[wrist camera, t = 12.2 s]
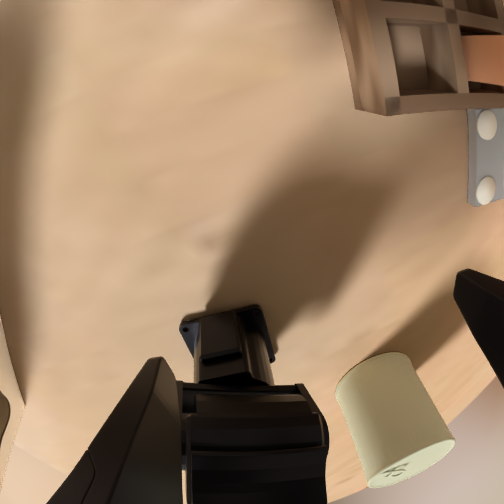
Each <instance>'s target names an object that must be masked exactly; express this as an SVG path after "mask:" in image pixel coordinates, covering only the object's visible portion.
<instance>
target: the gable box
mask: <svg viewBox="0 0 504 504" xmlns="http://www.w3.org/2000/svg"><path fill="white" fill-rule="evenodd" d="M24 409H25V405H24V402H23V399H22V396H21V393H20V390H19V387H18V384H17V380H16V377H15V374H14V370H13V367H12V363H11V359H10V355H9V352H8V347H7V343H6V339H5V335H4V330H3V325H2V320H1V315H0V492H1V487H2V483H3V479H4V475H5V471H6V467H7V463H8V459H9V456H10V453H11V449H12V446H13V443H14V439H15V436H16V433H17V430H18V427H19V424H20V421H21V418H22V415H23V412H24Z"/></svg>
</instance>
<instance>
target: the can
mask: <svg viewBox="0 0 504 504" xmlns="http://www.w3.org/2000/svg"><path fill="white" fill-rule="evenodd" d="M335 397H336V400H337V401H338V403H339V404H340V407H341V409H342V412H343V414H344V417H345V420H346V422H347V425H348V428H349V430H350V433H351V436H352V439H353V441H354V444H355V447H356V450H357V452H358V455H359V458H360V461H361V464H362V467H363V470H364V473H365V477H366V480H367V485H368V486H369V487H370V488H381V487H385V486H389V485H393V484H396V483H398V482H401V481H403V480H406V479H408V478H410V477H412V476H414V475H416V474H418V473H420V472H422V471H424V470H425V469H427V468H429V467H430V466H432V465H433V464H435V463H436V462H438V460H440V459H441V458H443V457H444V456H445V455H446V454H447V453H448V452H449V451H450V450H451V449H452V448H453V446H454V445H455V438H454V437H453V436H452V435H451V433H450V431H449V429H448V427H447V426H446V424H445V422H444V420H443V419H442V417H441V415H440V413H439V412H438V410H437V408H436V406H435V405H434V403H433V401H432V399H431V398H430V396H429V394H428V392H427V391H426V389H425V387H424V385H423V384H422V382H421V380H420V378H419V377H418V375H417V373H416V371H415V370H414V368H413V366H412V364H411V360H410V359H409V357H408V356H407V355H405V354H403V353H399V352H388V353H383V354H380V355H376V356H374V357H371V358H369V359H367V360H365V361H363V362H362V363H360V364H358V365H357V366H355V367H354V368H353V369H351V370H350V371H349V372H348V373H347V374H346V375H345V376H344V377H343V378H342V379H341V381H340V382H339V383H338V385H337V388H336V391H335Z"/></svg>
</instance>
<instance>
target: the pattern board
mask: <svg viewBox="0 0 504 504" xmlns="http://www.w3.org/2000/svg"><path fill="white" fill-rule="evenodd" d="M467 115H468V138H469V176H468V199H467V203H469V204H471V205H472V206H474V207H476V206H480V205H486V204H488V203H490V202H493V201H497V200H500V199H504V108H482V109H467Z"/></svg>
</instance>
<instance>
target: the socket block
mask: <svg viewBox="0 0 504 504" xmlns="http://www.w3.org/2000/svg"><path fill="white" fill-rule="evenodd" d="M333 4H334V8H335V12H336V16H337V20H338V24H339V28H340V32H341V36H342V41H343V45H344V50H345V55H346V59H347V64H348V69H349V75H350V80H351V85H352V91H353V97H354V103H355V109H357V110H362V111H367V112H371V113H376V114H380V115H384V116H392V115H400V114H409V113H419V112H431V111H444V110H459V109H482V108H504V86H501V85H495V84H488V83H482V82H475V81H468V77H467V69H466V62H465V56H464V50H463V44H462V38H461V36H472V35H504V7H503V3H502V0H333Z"/></svg>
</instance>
